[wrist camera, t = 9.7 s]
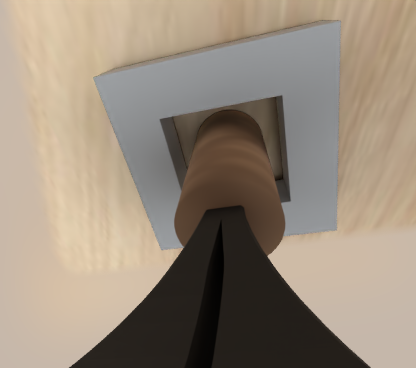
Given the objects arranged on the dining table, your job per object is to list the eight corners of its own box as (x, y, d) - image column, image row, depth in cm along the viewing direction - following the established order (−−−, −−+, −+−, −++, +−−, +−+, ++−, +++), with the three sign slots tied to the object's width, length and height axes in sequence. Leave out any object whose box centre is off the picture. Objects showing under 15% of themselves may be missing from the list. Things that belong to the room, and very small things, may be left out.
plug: (259, 105, 16) (283, 172, 9) (265, 168, 18) (287, 262, 11) (190, 115, 16) (161, 186, 9) (203, 175, 18) (186, 269, 11)
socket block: (322, 20, 13) (340, 20, 11) (324, 206, 19) (336, 230, 17) (112, 69, 15) (93, 77, 13) (168, 225, 21) (161, 250, 18)
